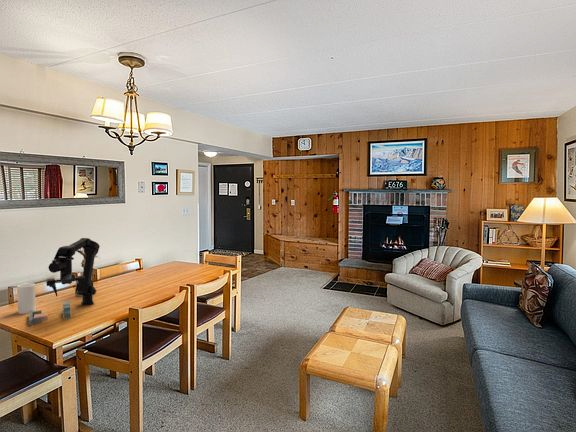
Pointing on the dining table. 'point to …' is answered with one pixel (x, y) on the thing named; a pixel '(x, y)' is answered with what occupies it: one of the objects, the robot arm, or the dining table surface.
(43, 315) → the tile
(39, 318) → the stop bay
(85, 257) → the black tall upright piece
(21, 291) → the cup
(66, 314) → the scraper
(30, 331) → the dining table surface
